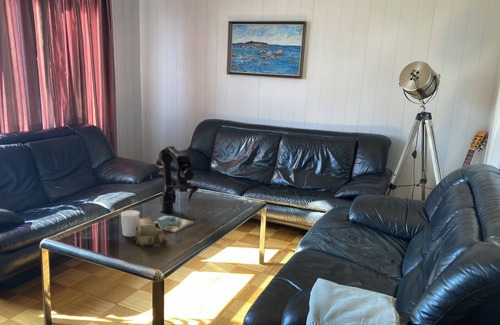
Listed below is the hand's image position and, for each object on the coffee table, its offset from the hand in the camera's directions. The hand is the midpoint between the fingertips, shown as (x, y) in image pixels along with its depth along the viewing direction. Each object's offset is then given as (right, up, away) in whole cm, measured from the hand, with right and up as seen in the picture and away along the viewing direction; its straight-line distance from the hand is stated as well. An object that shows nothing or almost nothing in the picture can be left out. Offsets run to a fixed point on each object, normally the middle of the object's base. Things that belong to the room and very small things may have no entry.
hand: (181, 201), depth 237 cm
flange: (-7, -12, -4) cm, 15 cm away
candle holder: (-25, -16, -18) cm, 34 cm away
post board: (-5, -13, -1) cm, 14 cm away
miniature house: (-12, -19, -27) cm, 35 cm away
